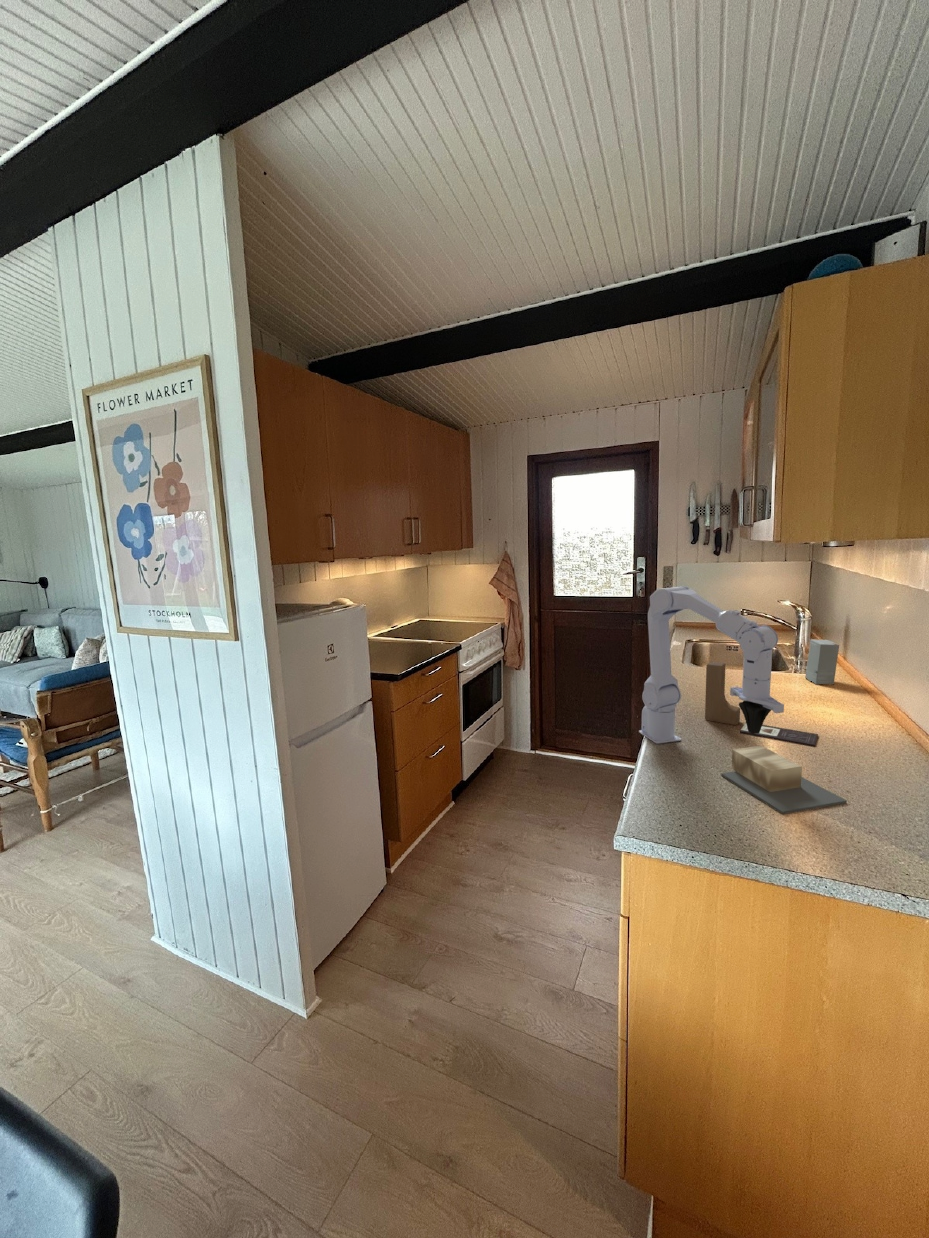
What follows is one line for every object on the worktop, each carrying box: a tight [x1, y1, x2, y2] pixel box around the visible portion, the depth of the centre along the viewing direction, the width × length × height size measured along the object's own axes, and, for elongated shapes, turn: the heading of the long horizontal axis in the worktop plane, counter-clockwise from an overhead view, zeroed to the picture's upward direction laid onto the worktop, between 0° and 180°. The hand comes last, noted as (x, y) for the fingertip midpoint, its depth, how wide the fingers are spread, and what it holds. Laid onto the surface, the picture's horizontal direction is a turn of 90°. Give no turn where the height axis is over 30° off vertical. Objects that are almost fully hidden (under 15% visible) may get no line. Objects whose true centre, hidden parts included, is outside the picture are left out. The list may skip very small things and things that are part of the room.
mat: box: [720, 770, 848, 815], centre depth 114 cm, size 18×16×1 cm
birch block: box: [731, 745, 803, 792], centre depth 117 cm, size 5×8×12 cm
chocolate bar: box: [739, 722, 819, 748], centre depth 144 cm, size 9×1×18 cm
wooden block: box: [704, 661, 741, 726], centre depth 154 cm, size 9×4×18 cm, turn 49°
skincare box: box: [805, 638, 840, 685], centre depth 189 cm, size 8×7×16 cm
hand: (753, 732), depth 120 cm, fingers closed
